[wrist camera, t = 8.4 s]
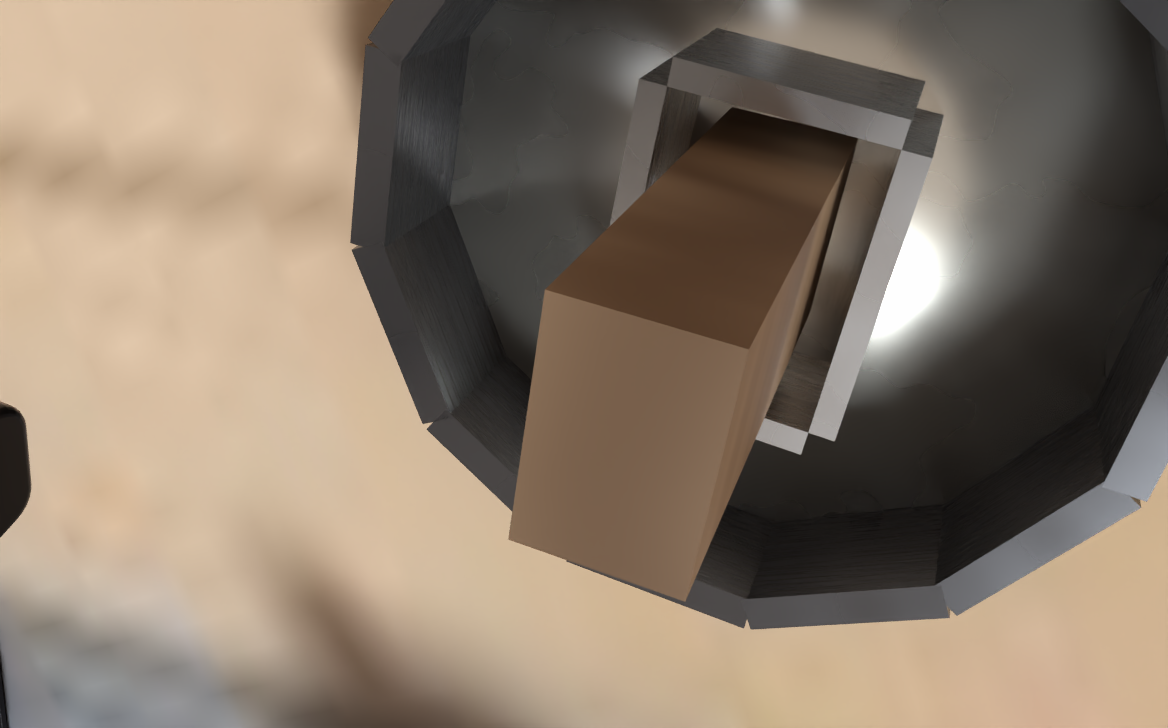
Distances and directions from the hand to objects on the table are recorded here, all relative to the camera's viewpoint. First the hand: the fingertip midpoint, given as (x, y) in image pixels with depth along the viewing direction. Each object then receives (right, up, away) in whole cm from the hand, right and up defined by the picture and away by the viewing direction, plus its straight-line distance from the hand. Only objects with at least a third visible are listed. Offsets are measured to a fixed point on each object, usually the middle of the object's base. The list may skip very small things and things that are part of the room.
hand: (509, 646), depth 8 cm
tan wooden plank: (+4, +5, +9) cm, 11 cm away
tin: (+4, +5, +10) cm, 12 cm away
